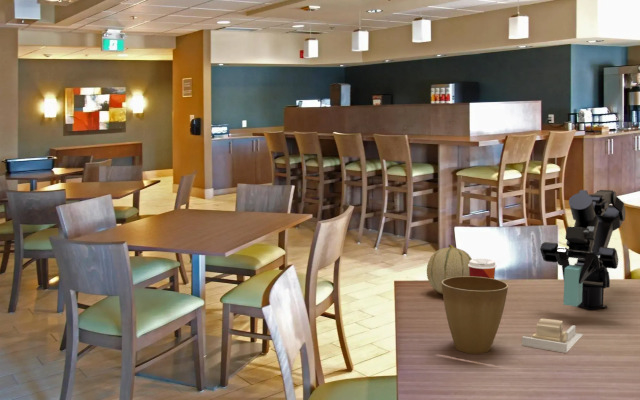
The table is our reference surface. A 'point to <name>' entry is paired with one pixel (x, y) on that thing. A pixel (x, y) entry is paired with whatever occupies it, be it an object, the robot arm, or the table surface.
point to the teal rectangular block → (572, 285)
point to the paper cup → (482, 268)
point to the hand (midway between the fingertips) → (572, 281)
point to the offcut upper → (549, 328)
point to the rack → (552, 345)
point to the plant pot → (474, 311)
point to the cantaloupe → (447, 266)
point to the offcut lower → (560, 339)
